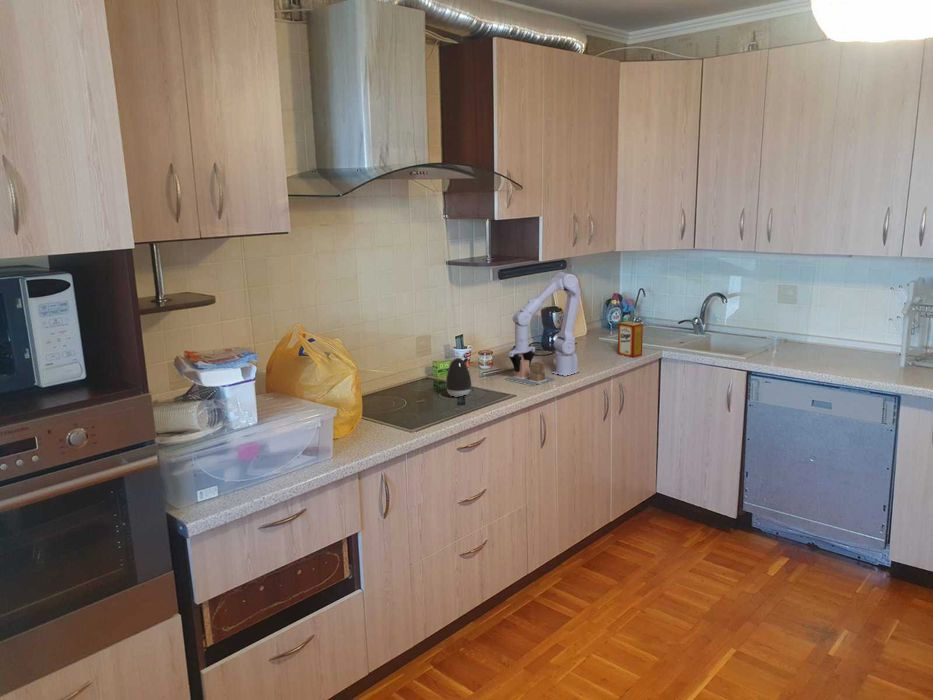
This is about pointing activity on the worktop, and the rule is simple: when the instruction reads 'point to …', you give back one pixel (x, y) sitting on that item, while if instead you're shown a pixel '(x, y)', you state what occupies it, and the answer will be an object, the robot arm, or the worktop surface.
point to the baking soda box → (630, 339)
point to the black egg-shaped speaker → (458, 378)
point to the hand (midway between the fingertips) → (522, 370)
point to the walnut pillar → (537, 371)
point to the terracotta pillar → (523, 369)
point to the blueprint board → (528, 380)
